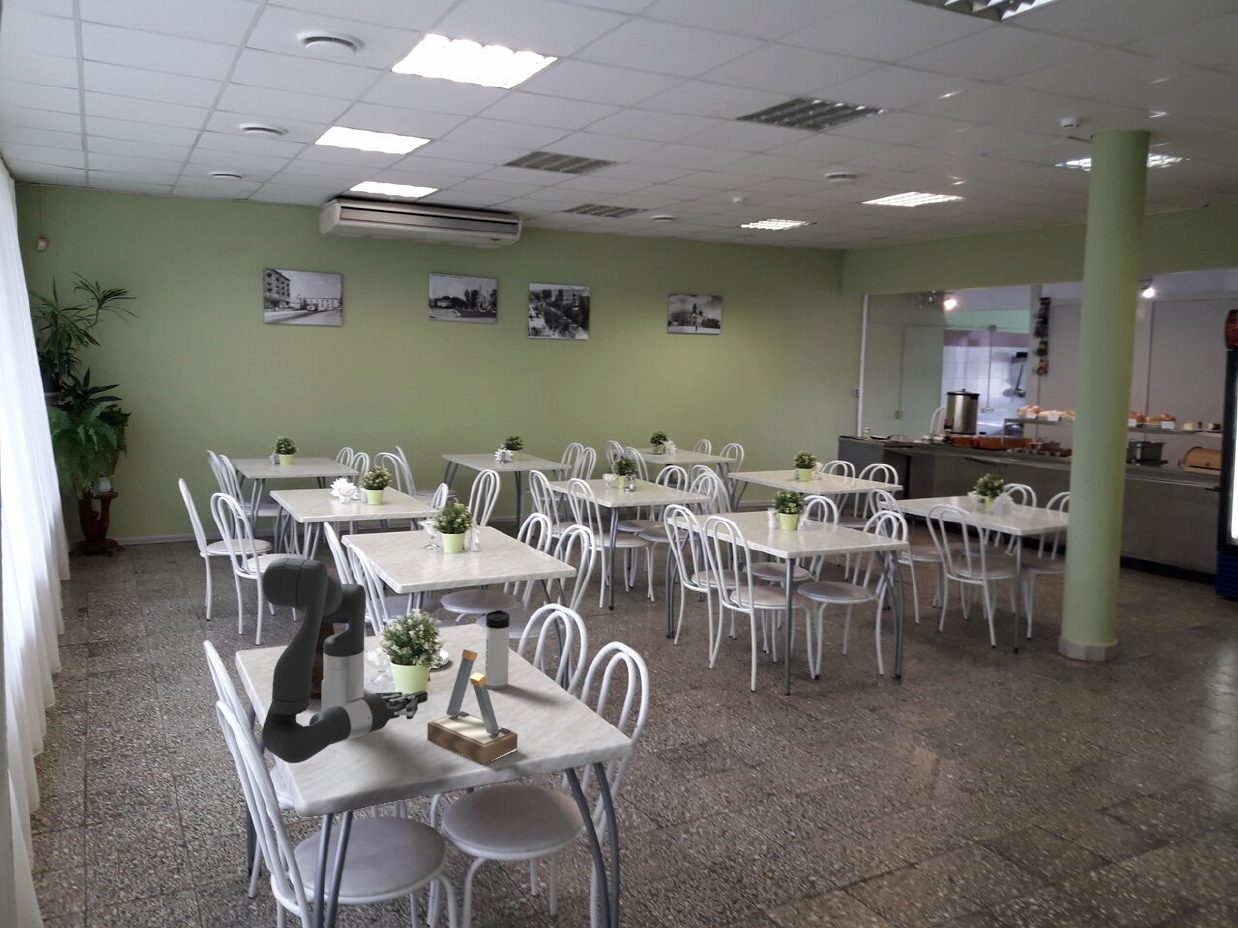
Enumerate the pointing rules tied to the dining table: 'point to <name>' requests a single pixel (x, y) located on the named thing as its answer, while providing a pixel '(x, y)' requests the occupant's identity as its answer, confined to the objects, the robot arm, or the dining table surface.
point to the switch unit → (471, 737)
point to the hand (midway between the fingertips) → (425, 695)
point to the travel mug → (497, 650)
